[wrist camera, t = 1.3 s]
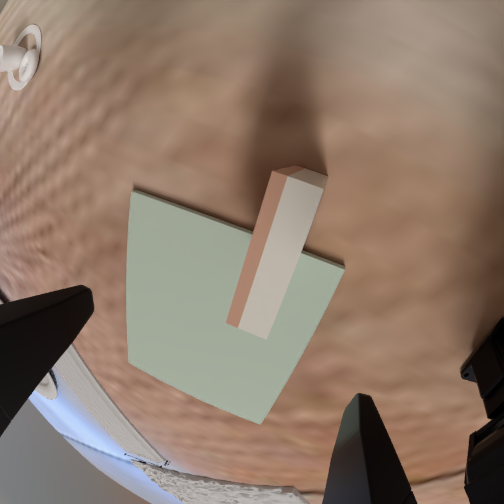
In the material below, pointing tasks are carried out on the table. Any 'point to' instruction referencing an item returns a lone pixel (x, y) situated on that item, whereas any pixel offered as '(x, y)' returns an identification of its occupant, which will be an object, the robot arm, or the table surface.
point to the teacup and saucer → (21, 58)
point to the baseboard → (103, 405)
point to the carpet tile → (218, 489)
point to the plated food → (46, 384)
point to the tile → (275, 247)
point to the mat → (212, 308)
